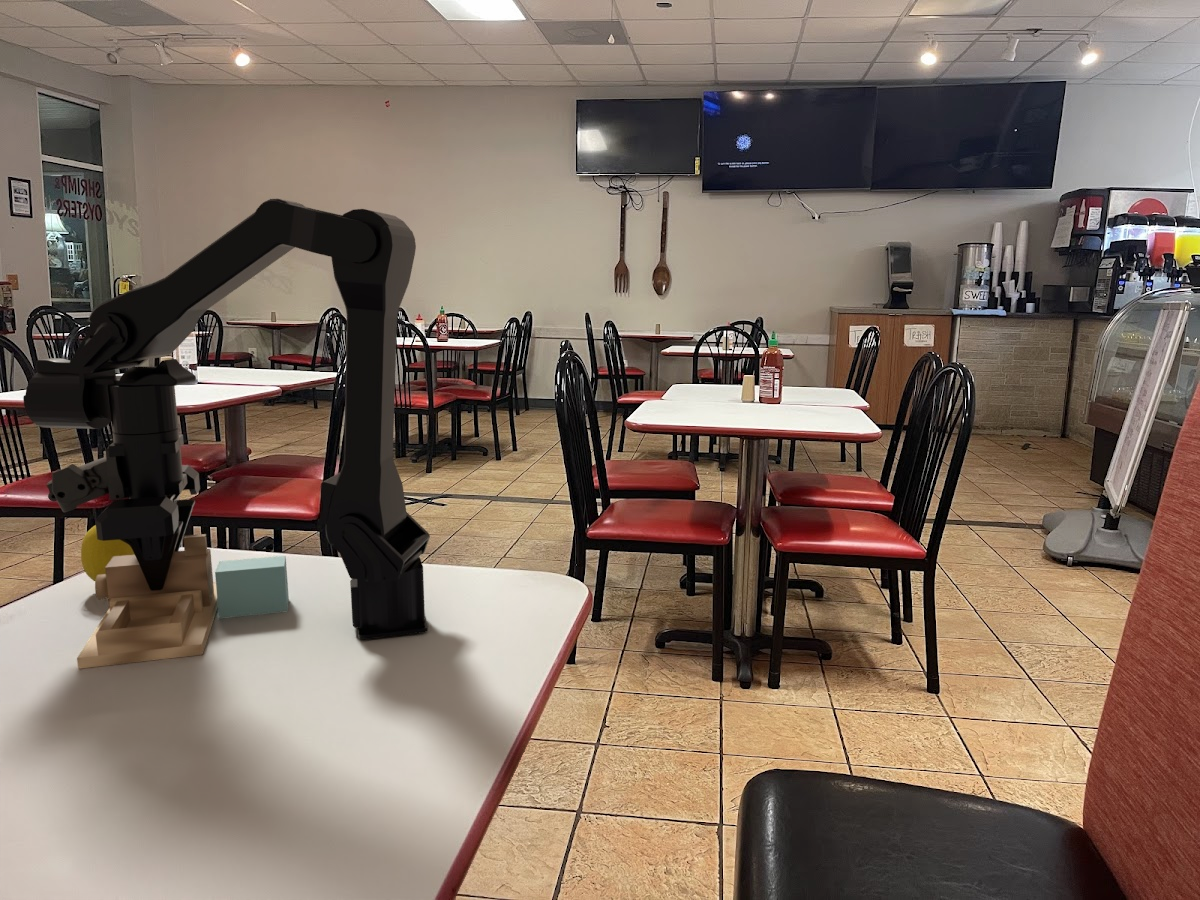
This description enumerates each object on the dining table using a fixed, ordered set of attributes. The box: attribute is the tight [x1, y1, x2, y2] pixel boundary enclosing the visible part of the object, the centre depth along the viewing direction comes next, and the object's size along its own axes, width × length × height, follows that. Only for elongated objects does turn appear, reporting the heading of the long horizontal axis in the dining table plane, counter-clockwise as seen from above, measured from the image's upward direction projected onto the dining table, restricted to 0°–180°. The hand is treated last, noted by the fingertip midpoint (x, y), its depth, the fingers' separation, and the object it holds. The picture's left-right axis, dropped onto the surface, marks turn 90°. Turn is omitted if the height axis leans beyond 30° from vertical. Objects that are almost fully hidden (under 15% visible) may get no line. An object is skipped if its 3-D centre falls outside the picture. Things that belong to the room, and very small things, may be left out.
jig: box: [76, 581, 218, 670], centre depth 84 cm, size 10×17×3 cm, turn 18°
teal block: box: [214, 555, 290, 619], centre depth 88 cm, size 4×6×5 cm, turn 108°
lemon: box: [80, 524, 135, 582], centre depth 93 cm, size 6×6×8 cm
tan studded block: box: [94, 533, 214, 607], centre depth 86 cm, size 10×4×7 cm, turn 108°
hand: (161, 581), depth 86 cm, fingers open, 5 cm apart
